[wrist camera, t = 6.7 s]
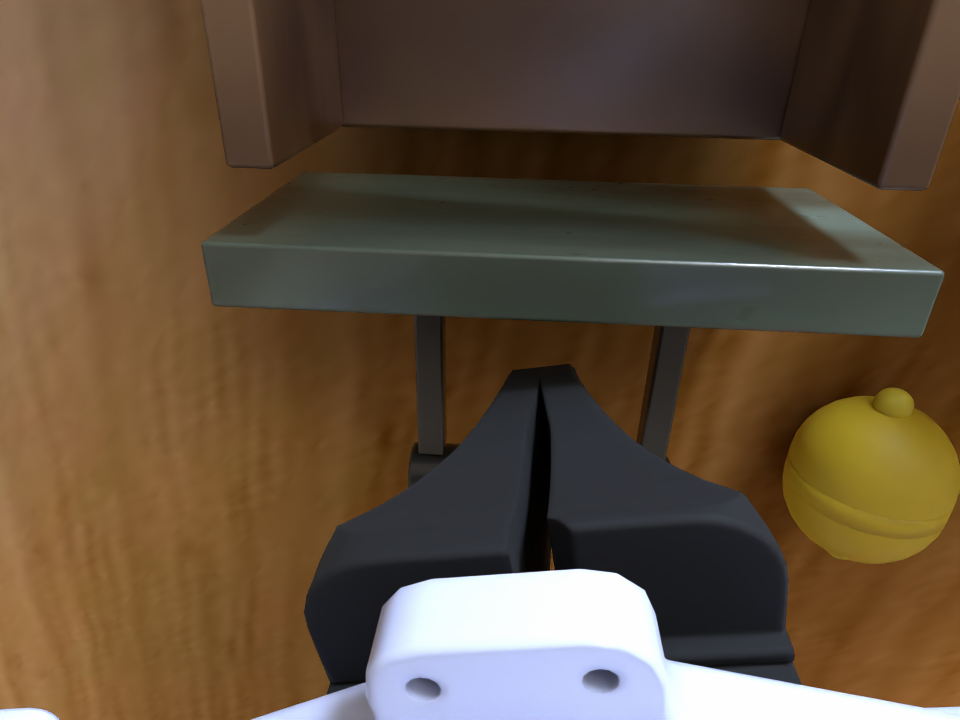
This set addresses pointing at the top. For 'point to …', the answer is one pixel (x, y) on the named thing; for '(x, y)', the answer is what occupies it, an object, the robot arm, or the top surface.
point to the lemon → (871, 478)
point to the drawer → (582, 204)
